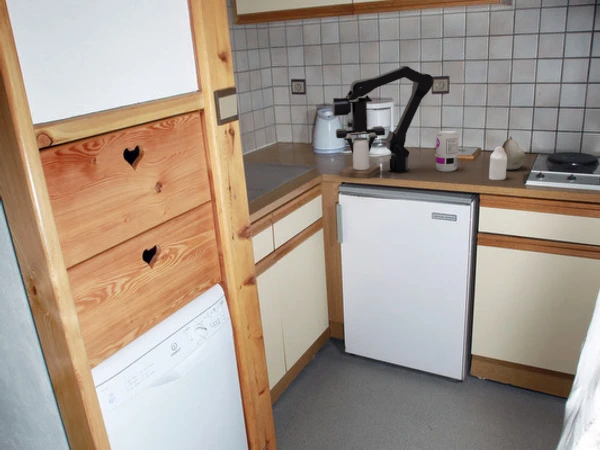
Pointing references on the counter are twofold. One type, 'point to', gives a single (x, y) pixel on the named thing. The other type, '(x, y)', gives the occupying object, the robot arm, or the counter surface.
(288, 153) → the counter surface
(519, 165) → the fruit
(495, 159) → the white bottle
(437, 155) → the supplement can
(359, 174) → the base
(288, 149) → the counter surface
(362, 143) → the can
